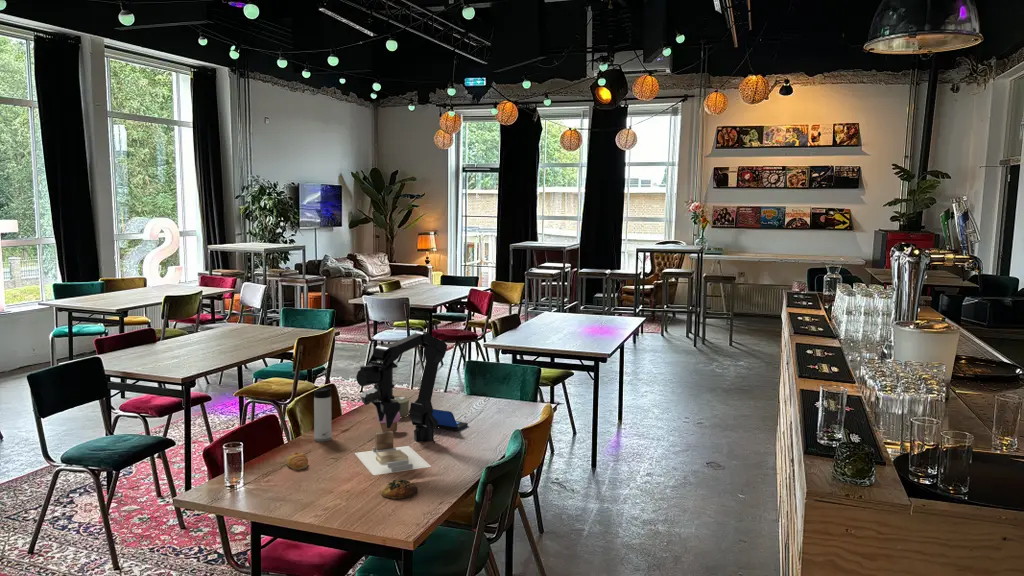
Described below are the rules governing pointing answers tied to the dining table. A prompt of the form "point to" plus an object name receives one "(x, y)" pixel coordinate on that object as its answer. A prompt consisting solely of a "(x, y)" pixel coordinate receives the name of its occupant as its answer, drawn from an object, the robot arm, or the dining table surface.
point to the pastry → (297, 461)
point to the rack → (390, 467)
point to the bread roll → (399, 489)
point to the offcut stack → (391, 456)
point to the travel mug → (322, 414)
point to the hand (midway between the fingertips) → (384, 424)
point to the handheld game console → (447, 420)
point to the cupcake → (393, 426)
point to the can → (403, 405)
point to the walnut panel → (383, 440)
